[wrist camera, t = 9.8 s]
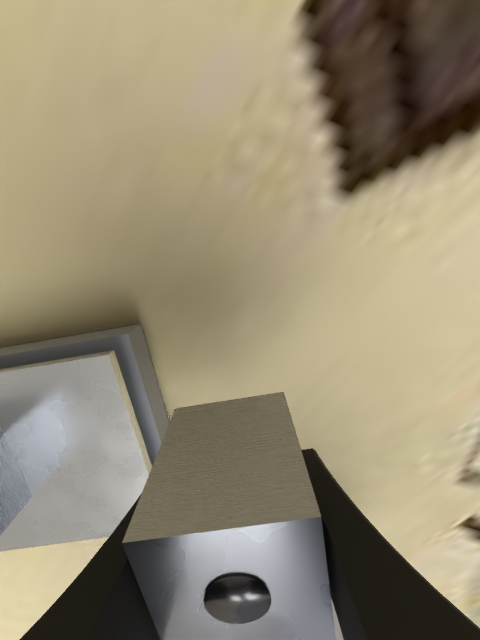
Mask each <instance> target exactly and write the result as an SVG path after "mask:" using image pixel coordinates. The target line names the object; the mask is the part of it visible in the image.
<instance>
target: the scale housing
mask: <svg viewBox="0 0 480 640" xmlns="http://www.w3.org/2000/svg"><path fill="white" fill-rule="evenodd" d="M112 350H114V351H115V354H116V357H117V360H118V364H119V367H120V370H121V373H122V376H123V379H124V382H125V385H126V388H127V391H128V394H129V397H130V400H131V403H132V406H133V409H134V413H135V416H136V419H137V422H138V425H139V428H140V431H141V434H142V437H143V440H144V443H145V446H146V449H147V452H148V455H149V459H150V462H151V465H152V466H153V463H154V461H155V458H156V456H157V453H158V451H159V448H160V446H161V443H162V441H163V438H164V436H165V433H166V431H167V428H168V426H169V420H168V416H167V413H166V409H165V406H164V402H163V399H162V395H161V392H160V388H159V385H158V381H157V378H156V374H155V371H154V368H153V364H152V361H151V357H150V354H149V350H148V347H147V343H146V340H145V336H144V333H143V329H142V326H141V324H137V325H131V326H125V327H119V328H113V329H107V330H101V331H95V332H90V333H84V334H78V335H72V336H66V337H60V338H54V339H49V340H43V341H37V342H31V343H25V344H19V345H13V346H7V347H2V348H0V369H4V368H10V367H16V366H22V365H28V364H34V363H40V362H46V361H52V360H58V359H64V358H70V357H76V356H82V355H88V354H94V353H100V352H106V351H112Z"/></svg>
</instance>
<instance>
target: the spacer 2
mask: <svg viewBox="0 0 480 640" xmlns="http://www.w3.org/2000/svg"><path fill="white" fill-rule="evenodd" d="M122 545H123V547H124V550H125V552H126V555H127V557H128V560H129V562H130V565H131V567H132V570H133V572H134V575H135V577H136V580H137V582H138V585H139V587H140V590H141V592H142V595H143V597H144V600H145V602H146V605H147V607H148V610H149V612H150V615H151V617H152V620H153V622H154V625H155V627H156V630H157V632H158V635H159V637H160V640H336V636H335V628H334V619H333V611H332V602H331V594H330V585H329V577H328V569H327V560H326V552H325V543H324V535H323V527H322V518H321V514H320V511H319V507H318V504H317V501H316V497H315V494H314V491H313V488H312V484H311V481H310V478H309V474H308V471H307V468H306V464H305V461H304V458H303V455H302V451H301V448H300V445H299V441H298V438H297V435H296V431H295V428H294V425H293V422H292V418H291V415H290V412H289V408H288V405H287V402H286V398H285V395H284V392H280V393H273V394H267V395H260V396H254V397H248V398H241V399H235V400H228V401H222V402H215V403H209V404H202V405H196V406H189V407H183V408H176V409H175V410H174V413H173V416H172V418H171V421H170V423H169V426H168V428H167V431H166V433H165V436H164V438H163V441H162V443H161V446H160V448H159V451H158V453H157V456H156V458H155V461H154V463H153V466H152V468H151V471H150V473H149V476H148V479H147V481H146V484H145V486H144V489H143V491H142V494H141V496H140V499H139V501H138V504H137V506H136V509H135V511H134V514H133V516H132V519H131V521H130V524H129V526H128V529H127V531H126V534H125V536H124V539H123V542H122Z"/></svg>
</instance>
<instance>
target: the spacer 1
mask: <svg viewBox="0 0 480 640" xmlns="http://www.w3.org/2000/svg"><path fill="white" fill-rule="evenodd" d="M32 496H33V495H32V493H31V491H30V489H29V487H28V485H27V483H26V481H25V479H24V477H23V475H22V473H21V471H20V469H19V467H18V465H17V463H16V461H15V459H14V457H13V455H12V453H11V451H10V449H9V447H8V445H7V443H6V441H5V439H4V437H3V435H0V535H1V534H2V533H3V532H4V530H5V529H6V528H7V527H8V526H9V524H10V523H11V522H12V521H13V519H14V518H15V517H16V516H17V515H18V513H19V512H20V511H21V510H22V509H23V507H24V506H25V505H26V504H27V502H28V501H29V500H30V499H31V498H32Z"/></svg>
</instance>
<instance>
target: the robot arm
mask: <svg viewBox="0 0 480 640" xmlns="http://www.w3.org/2000/svg"><path fill="white" fill-rule="evenodd" d="M301 451H302V455H303V458H304V461H305V464H306V468H307V471H308V474H309V478H310V481H311V484H312V488H313V491H314V494H315V497H316V501H317V504H318V507H319V511H320V514H321V518H322V527H323V535H324V543H325V552H326V560H327V569H328V577H329V585H330V594H331V602H332V611H333V619H334V628H335V636H336V640H480V628H479V627H478V626H477V625H475V624H474V623H473V622H472V621H471V620H470V619H469V618H468V617H466V616H465V615H464V614H463V613H462V612H461V611H460V610H459V609H457V608H456V607H455V606H454V605H453V604H452V603H451V602H450V601H449V600H447V599H446V598H445V597H444V596H443V595H442V594H441V593H440V592H438V591H437V590H436V589H435V588H434V587H433V586H432V585H431V584H430V583H429V582H428V581H427V580H426V579H425V578H424V577H423V576H422V575H421V574H420V573H419V572H418V571H416V570H415V569H414V568H413V567H412V566H411V565H410V564H409V563H408V562H407V561H406V560H405V559H404V558H403V557H402V556H401V555H400V554H399V553H398V552H397V551H396V550H395V549H394V547H393V546H392V545H391V544H390V543H389V542H388V541H387V540H386V539H385V538H384V537H383V536H382V535H381V534H380V533H379V532H378V530H377V529H376V528H375V527H374V526H373V525H372V524H371V523H370V521H369V520H368V519H367V518H366V517H365V516H364V515H363V514H362V512H361V511H360V510H359V509H358V508H357V507H356V505H355V504H354V503H353V502H352V500H351V499H350V498H349V497H348V495H347V494H346V493H345V492H344V491H343V489H342V488H341V487H340V485H339V484H338V483H337V482H336V480H335V479H334V478H333V476H332V475H331V473H330V472H329V471H328V469H327V468H326V466H325V465H324V463H323V462H322V460H321V459H320V457H319V456H318V454H317V452H316V451H315V450H314V449H305V450H301ZM141 494H142V493H141ZM140 496H141V495H140ZM140 496H139V497H138V499H137V500H136V502H135V503H134V504H133V506H132V507H131V509H130V510H129V511H128V513H127V514H126V515H125V517H124V518H123V519H122V521H121V522H120V523H119V525H118V526H117V527H116V529H115V530H114V532H113V533H112V534H111V535H110V537H109V538H108V539H107V541H106V542H105V543H104V544H103V546H102V547H101V548H100V549H99V551H98V552H97V553H96V554H95V556H94V557H93V558H92V559H91V561H90V562H89V563H88V564H87V566H86V567H85V568H84V569H83V571H82V572H81V573H80V574H79V575H78V576H77V578H76V579H75V580H74V581H73V582H72V584H71V585H70V586H69V587H68V588H67V589H66V590H65V592H64V593H63V594H62V595H61V596H60V597H59V598H58V599H57V600H56V602H55V603H54V604H53V605H52V606H51V607H50V608H49V609H48V610H47V612H46V613H45V614H44V615H43V616H42V617H41V618H40V619H39V620H38V621H37V622H36V623H35V624H34V625H33V626H32V627H31V628H30V629H29V630H28V631H27V633H26V634H25V635H24V636H23V637H22V638H21V639H20V640H160V637H159V635H158V632H157V630H156V627H155V625H154V622H153V620H152V617H151V615H150V612H149V610H148V607H147V605H146V602H145V600H144V597H143V595H142V592H141V590H140V587H139V585H138V582H137V580H136V577H135V575H134V572H133V570H132V567H131V565H130V562H129V560H128V557H127V555H126V552H125V550H124V547H123V545H122V542H123V539H124V536H125V534H126V531H127V529H128V526H129V524H130V521H131V519H132V516H133V514H134V511H135V509H136V506H137V504H138V501H139V499H140Z"/></svg>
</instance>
